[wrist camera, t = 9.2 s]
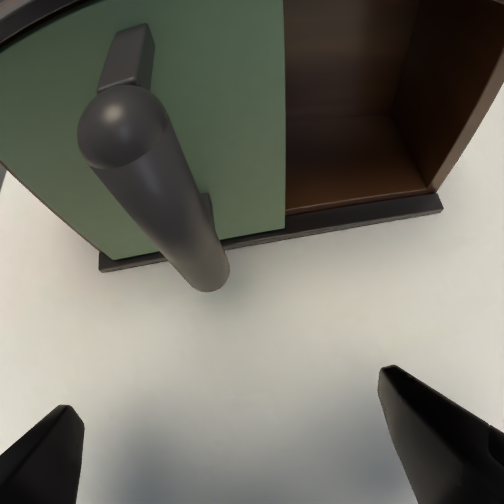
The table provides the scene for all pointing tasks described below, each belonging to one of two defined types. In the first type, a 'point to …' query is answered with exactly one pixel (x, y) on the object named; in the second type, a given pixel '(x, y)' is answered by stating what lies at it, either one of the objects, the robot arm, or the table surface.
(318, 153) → the cupboard
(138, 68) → the sliding door
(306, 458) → the table surface
